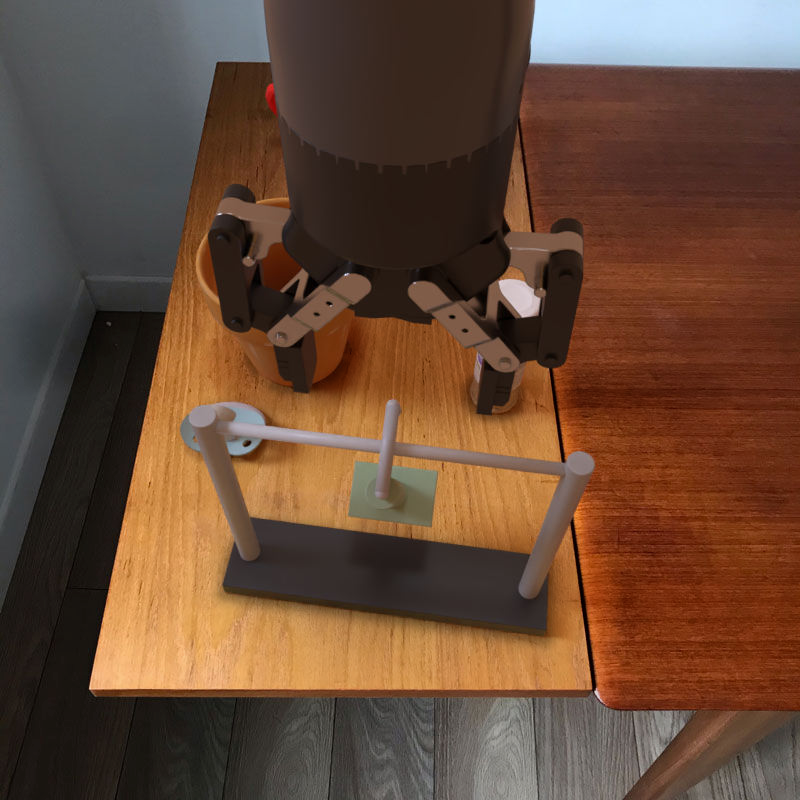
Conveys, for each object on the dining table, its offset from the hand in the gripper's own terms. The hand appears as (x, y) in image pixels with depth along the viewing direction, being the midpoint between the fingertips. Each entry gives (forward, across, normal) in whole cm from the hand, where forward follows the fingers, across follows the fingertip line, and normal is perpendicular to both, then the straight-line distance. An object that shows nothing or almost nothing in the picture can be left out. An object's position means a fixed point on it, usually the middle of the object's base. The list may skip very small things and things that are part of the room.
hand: (395, 388), depth 37 cm
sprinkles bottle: (+29, +7, +21) cm, 37 cm away
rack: (+29, -1, +2) cm, 29 cm away
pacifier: (+29, -17, +14) cm, 36 cm away
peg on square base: (+22, -1, +8) cm, 23 cm away
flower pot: (+29, -13, +24) cm, 40 cm away
